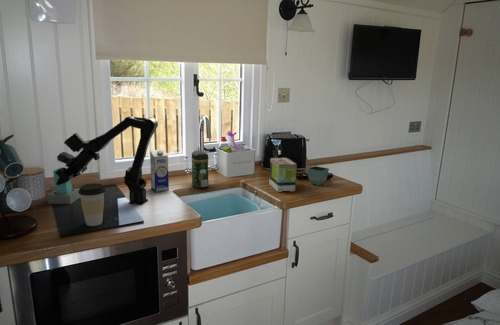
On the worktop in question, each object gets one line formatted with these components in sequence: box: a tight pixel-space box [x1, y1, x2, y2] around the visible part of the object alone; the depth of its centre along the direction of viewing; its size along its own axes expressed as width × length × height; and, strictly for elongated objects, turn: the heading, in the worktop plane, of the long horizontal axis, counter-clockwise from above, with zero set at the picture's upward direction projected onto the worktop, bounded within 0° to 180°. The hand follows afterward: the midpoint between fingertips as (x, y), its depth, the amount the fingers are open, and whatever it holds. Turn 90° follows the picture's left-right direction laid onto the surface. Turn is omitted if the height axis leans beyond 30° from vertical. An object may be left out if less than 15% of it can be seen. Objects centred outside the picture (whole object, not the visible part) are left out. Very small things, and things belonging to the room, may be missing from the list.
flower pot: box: [307, 165, 330, 186], centre depth 204 cm, size 9×9×9 cm
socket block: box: [46, 187, 81, 205], centre depth 169 cm, size 10×10×4 cm
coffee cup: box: [79, 183, 106, 227], centre depth 144 cm, size 9×9×15 cm
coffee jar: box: [191, 149, 209, 189], centre depth 194 cm, size 10×8×19 cm
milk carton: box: [149, 148, 170, 193], centre depth 186 cm, size 7×7×20 cm
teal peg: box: [52, 167, 73, 194], centre depth 168 cm, size 5×5×13 cm
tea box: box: [268, 157, 298, 193], centre depth 196 cm, size 15×10×15 cm
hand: (60, 182), depth 168 cm, fingers closed on teal peg, 5 cm apart
